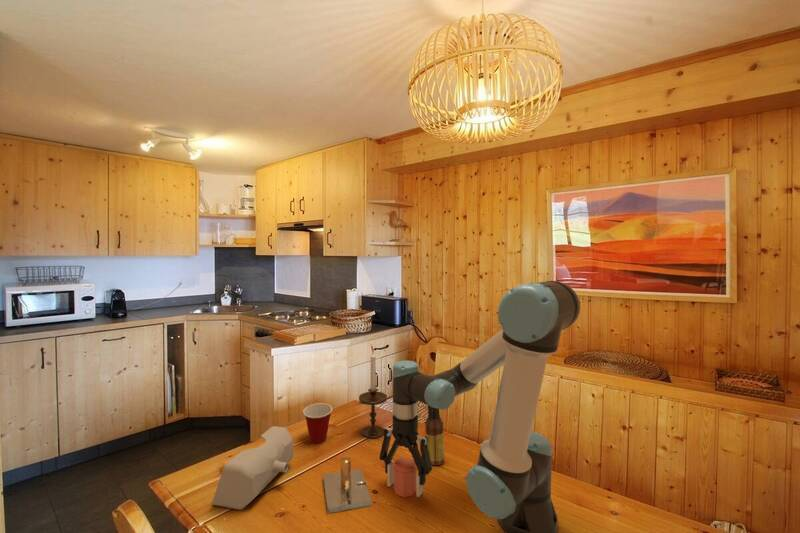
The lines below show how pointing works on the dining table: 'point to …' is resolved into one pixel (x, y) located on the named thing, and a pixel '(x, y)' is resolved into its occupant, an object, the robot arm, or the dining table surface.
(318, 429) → the plastic cup
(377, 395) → the candlestick
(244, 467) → the tank
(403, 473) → the wire nut
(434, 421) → the sauce bottle
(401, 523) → the dining table surface
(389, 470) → the robot arm
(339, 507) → the plate
